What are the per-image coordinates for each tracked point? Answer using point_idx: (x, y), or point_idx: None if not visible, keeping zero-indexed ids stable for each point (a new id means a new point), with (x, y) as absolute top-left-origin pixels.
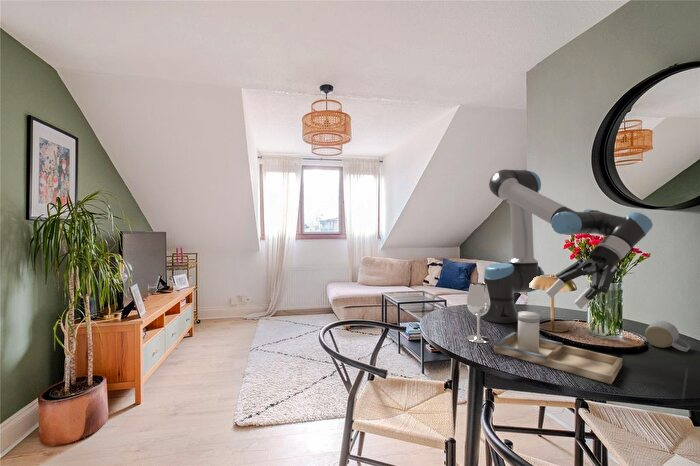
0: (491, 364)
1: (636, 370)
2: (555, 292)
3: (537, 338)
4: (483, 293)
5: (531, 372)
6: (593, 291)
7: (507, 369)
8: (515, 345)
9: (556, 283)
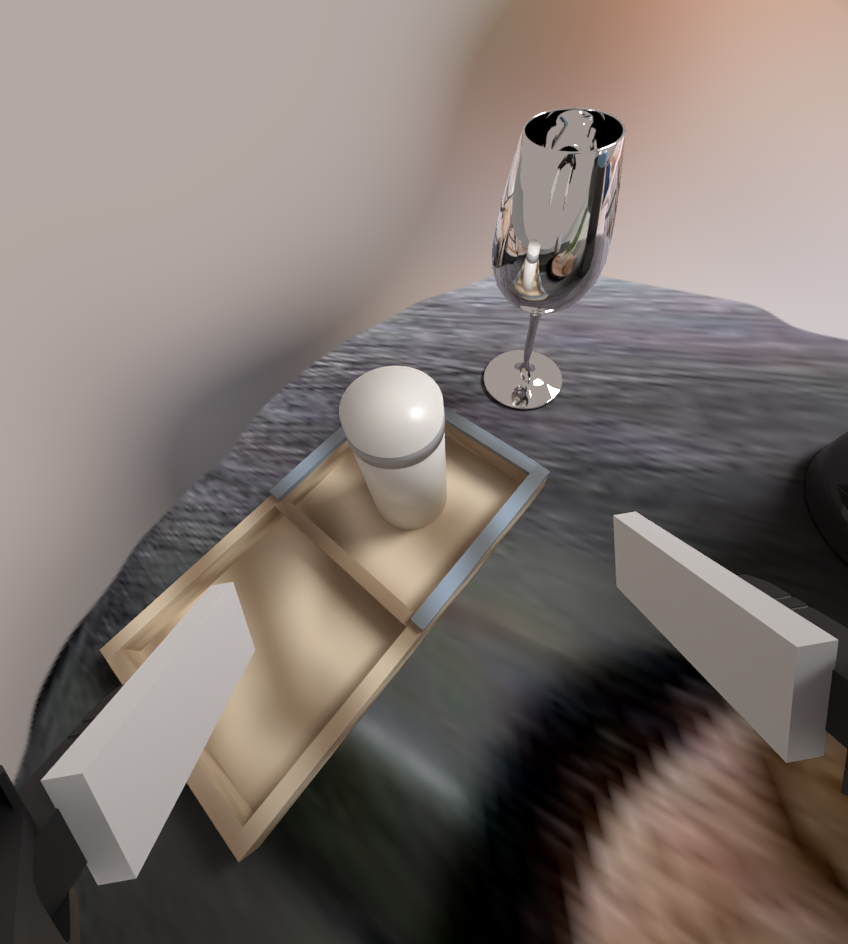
0: (316, 377)
1: (216, 904)
2: (650, 606)
3: (369, 488)
4: (510, 194)
5: (257, 456)
6: (30, 779)
7: (282, 405)
8: (465, 471)
9: (712, 593)
